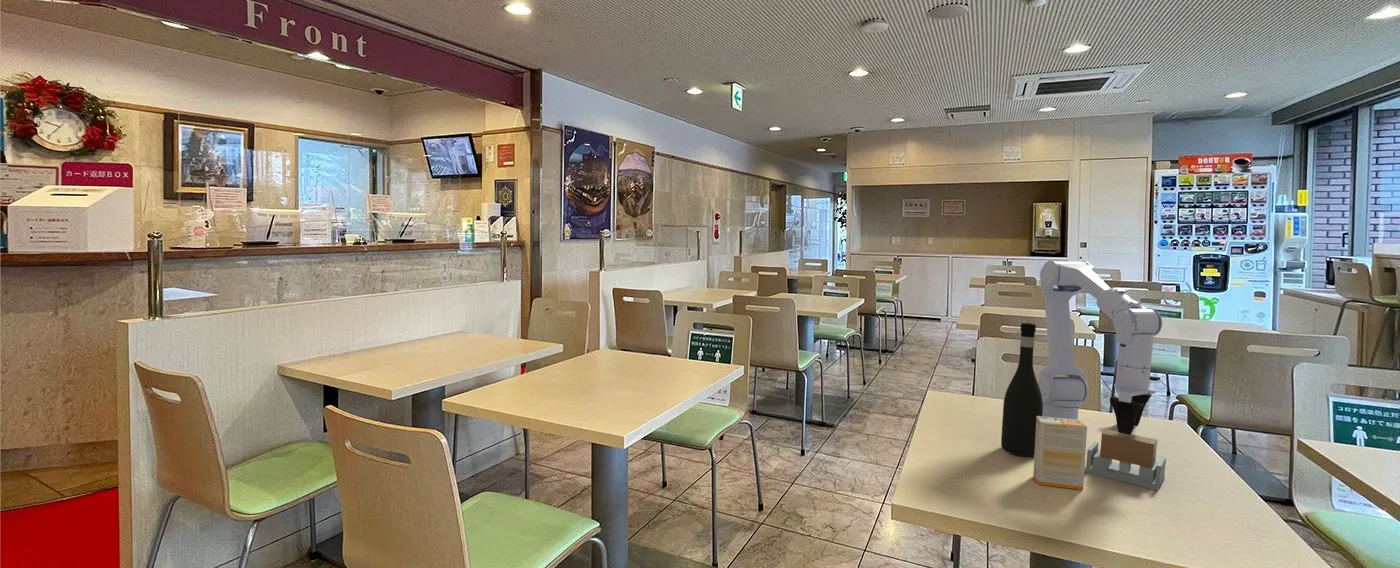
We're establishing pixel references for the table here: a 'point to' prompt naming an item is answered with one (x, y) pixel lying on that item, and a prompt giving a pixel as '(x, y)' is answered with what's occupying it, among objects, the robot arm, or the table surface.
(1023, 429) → the wine bottle
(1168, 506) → the table surface
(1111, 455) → the brown rectangular block
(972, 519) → the table surface
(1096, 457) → the display stand
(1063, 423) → the supplement box
